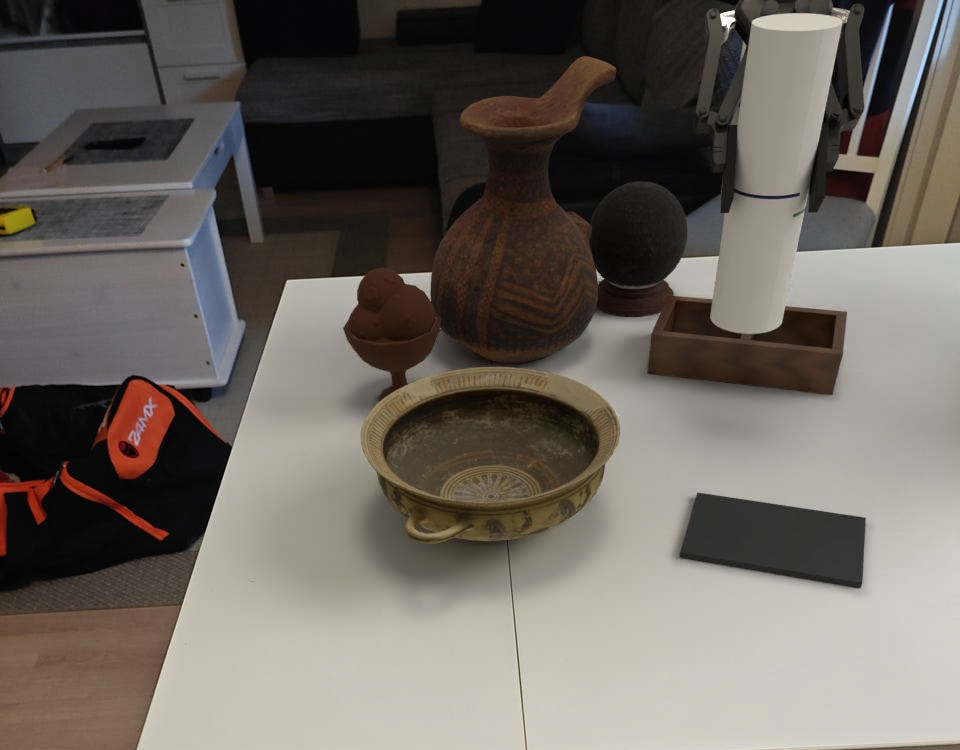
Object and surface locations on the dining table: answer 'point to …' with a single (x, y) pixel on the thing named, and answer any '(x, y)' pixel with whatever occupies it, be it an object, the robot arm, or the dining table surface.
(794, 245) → the cylindrical container
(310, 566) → the dining table surface
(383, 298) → the ice cream bowl
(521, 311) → the jug
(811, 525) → the mat
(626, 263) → the black ball on stand
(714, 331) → the wooden compartment box
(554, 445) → the ceramic bowl
